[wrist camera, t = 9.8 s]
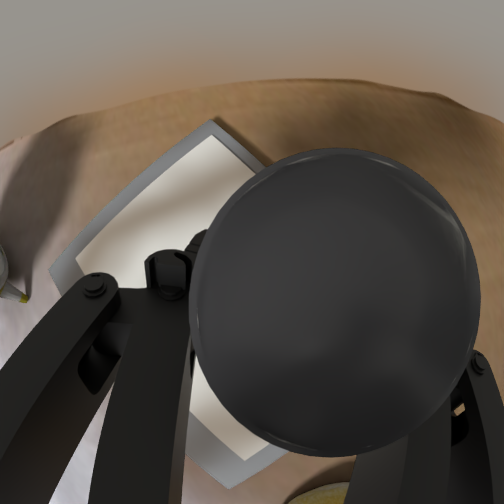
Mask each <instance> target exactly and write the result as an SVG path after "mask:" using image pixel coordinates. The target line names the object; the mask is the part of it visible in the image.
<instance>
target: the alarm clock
mask: <svg viewBox="0 0 504 504" xmlns="http://www.w3.org/2000/svg"><path fill="white" fill-rule="evenodd" d="M7 277H8V261H7V258H6V255H5V252H4V250H3V248H2V246H1V244H0V297H1V298H6V299H10V300H14V301H19V302H22V303H27V300H28V296H27V295H25V294H24V293H23V292H21V291H19V290H18V289H17V288H15V287H14V286H13V285H11V284H10V283H9V282H7Z"/></svg>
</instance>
